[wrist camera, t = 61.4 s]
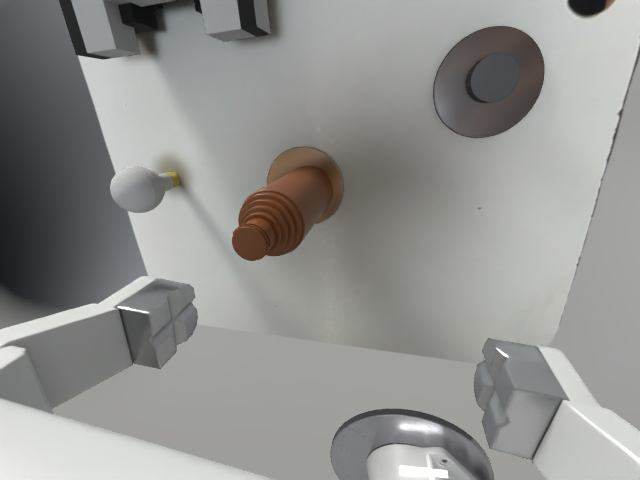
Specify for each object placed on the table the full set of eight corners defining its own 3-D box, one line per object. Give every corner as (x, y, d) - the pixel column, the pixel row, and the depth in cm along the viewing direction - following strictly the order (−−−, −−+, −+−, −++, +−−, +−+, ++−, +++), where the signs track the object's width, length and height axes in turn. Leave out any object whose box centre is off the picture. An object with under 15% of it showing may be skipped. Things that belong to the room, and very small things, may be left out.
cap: (458, 96, 32) (462, 95, 30) (477, 51, 30) (483, 47, 28) (498, 107, 31) (505, 107, 29) (519, 62, 30) (529, 59, 27)
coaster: (359, 177, 38) (358, 178, 37) (316, 237, 42) (315, 239, 42) (292, 129, 37) (290, 130, 37) (256, 195, 42) (254, 196, 41)
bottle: (342, 187, 38) (303, 241, 22) (314, 222, 41) (260, 294, 25) (303, 155, 38) (234, 187, 22) (277, 193, 40) (198, 246, 25)
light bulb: (191, 202, 45) (139, 225, 36) (158, 189, 45) (98, 208, 36) (196, 166, 42) (141, 181, 33) (160, 152, 43) (97, 164, 34)
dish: (567, 67, 29) (570, 66, 29) (487, 156, 34) (488, 156, 33) (483, 4, 29) (484, 2, 28) (413, 102, 33) (413, 102, 33)
